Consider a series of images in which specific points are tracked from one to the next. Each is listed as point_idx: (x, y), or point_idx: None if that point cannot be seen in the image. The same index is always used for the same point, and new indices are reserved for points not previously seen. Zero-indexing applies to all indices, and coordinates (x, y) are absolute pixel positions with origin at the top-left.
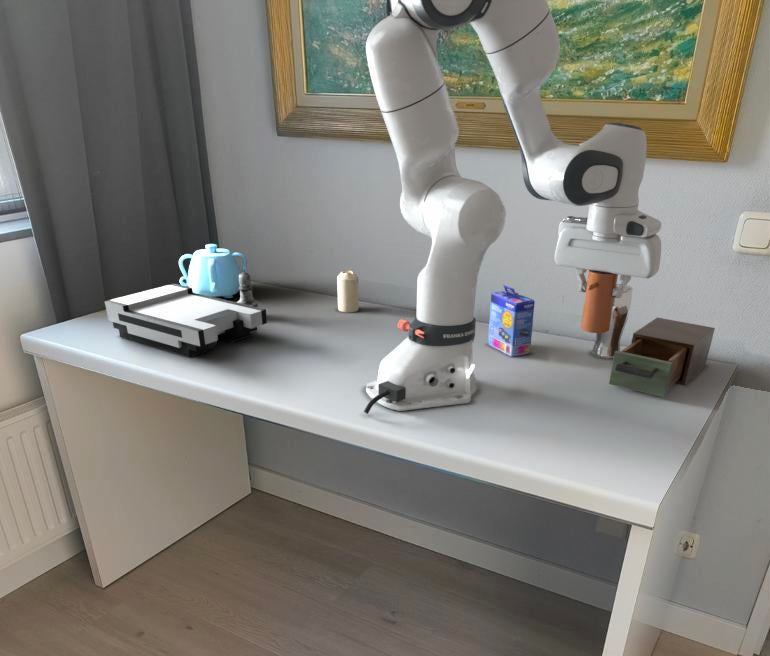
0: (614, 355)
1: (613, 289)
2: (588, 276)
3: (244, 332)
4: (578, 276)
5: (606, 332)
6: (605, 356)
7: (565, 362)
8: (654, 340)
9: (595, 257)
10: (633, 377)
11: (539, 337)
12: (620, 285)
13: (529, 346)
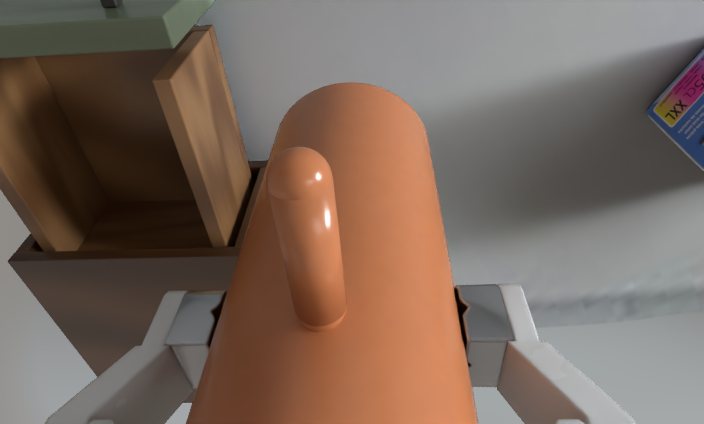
0: (168, 10)
1: (204, 336)
2: (456, 399)
3: None
4: (581, 394)
5: None
6: None
7: (485, 116)
8: (158, 249)
9: None
10: None
11: (642, 261)
12: (125, 374)
13: (664, 121)
